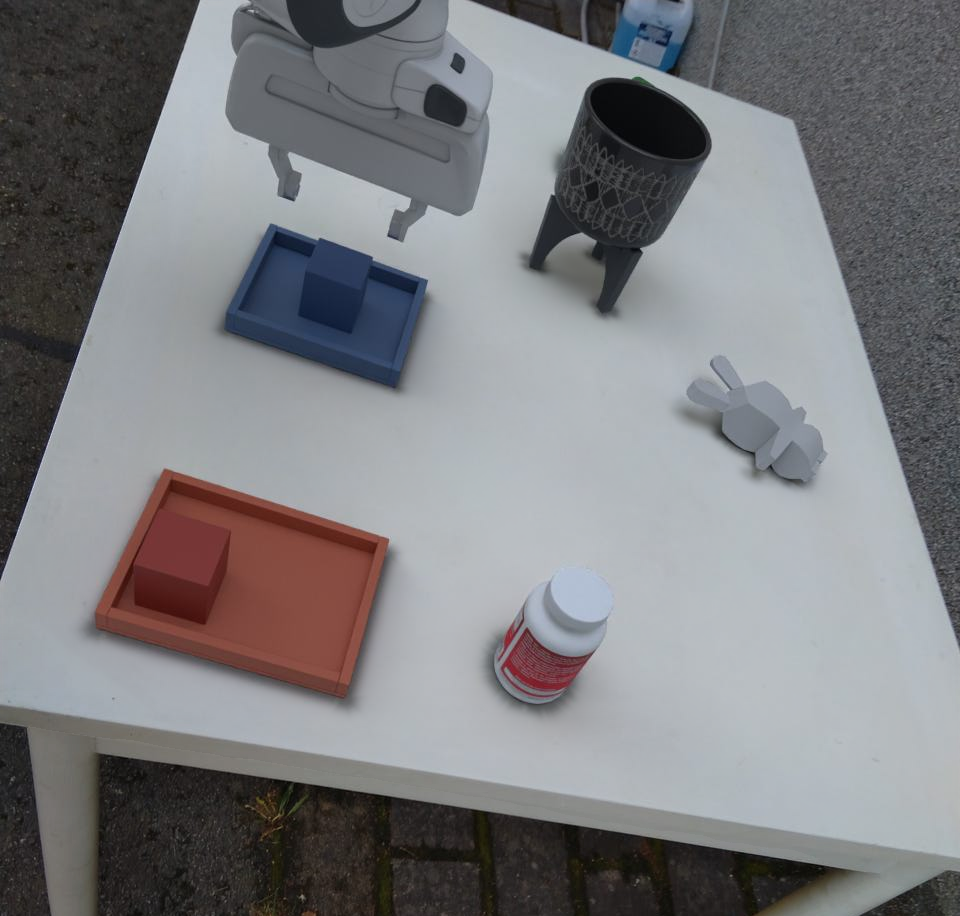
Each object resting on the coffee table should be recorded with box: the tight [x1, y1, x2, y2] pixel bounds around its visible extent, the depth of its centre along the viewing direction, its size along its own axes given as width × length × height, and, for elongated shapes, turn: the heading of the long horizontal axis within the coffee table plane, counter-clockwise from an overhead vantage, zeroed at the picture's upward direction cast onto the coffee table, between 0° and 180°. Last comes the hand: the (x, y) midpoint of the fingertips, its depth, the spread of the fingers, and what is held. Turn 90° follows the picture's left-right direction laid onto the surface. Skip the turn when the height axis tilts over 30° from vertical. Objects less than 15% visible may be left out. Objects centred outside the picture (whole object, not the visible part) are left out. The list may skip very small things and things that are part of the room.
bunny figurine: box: [685, 354, 829, 484], centre depth 93 cm, size 10×5×15 cm
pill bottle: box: [493, 565, 615, 705], centre depth 68 cm, size 6×6×11 cm
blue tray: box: [224, 222, 429, 388], centre depth 86 cm, size 16×14×2 cm
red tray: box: [94, 468, 390, 699], centre depth 68 cm, size 18×14×2 cm
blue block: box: [298, 237, 374, 334], centre depth 84 cm, size 5×5×5 cm
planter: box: [528, 76, 713, 313], centre depth 94 cm, size 13×13×18 cm
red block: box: [133, 509, 231, 625], centre depth 65 cm, size 5×5×5 cm
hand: (342, 215), depth 78 cm, fingers open, 8 cm apart
